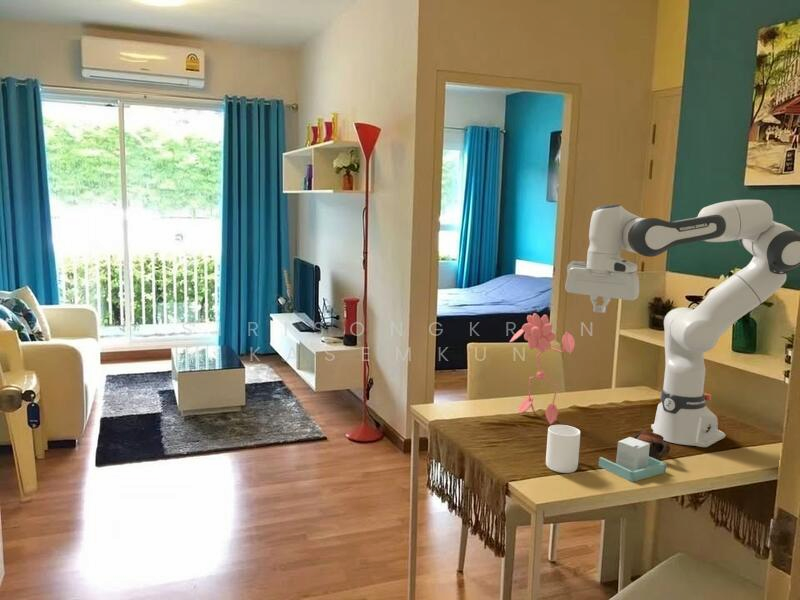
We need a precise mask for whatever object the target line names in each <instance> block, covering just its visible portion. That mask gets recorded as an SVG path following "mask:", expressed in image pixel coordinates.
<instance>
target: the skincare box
mask: <svg viewBox="0 0 800 600" xmlns="http://www.w3.org/2000/svg"><path fill="white" fill-rule="evenodd" d="M616 448H617V449H616V461H615V463H616V464H618V465H620V466H622V467H624V468H627V469H629V470H631V471H635V470H639V469H642V468H646V467H649V466H648V459H649V448H650V444H649V443H647V442H644V441H641V440H638V439H635V438H633V437H631V436H628V437H626V438H623V439H621V440H618V441H617V447H616Z"/></svg>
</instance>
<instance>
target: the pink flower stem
mask: <svg viewBox="0 0 800 600" xmlns="http://www.w3.org/2000/svg"><path fill="white" fill-rule="evenodd" d="M549 319H550V318H549V316H548V315H547V314H543V315H542V316H541V317H540V316H539V315H538V314H537V313H536V312H534V313H533V314H532V315H531V314H528V315H527V317H526V320H527V321H526V322H527V323H524V324H523V325H522V327H521V329H519V330H518V331H517V332H516V333H515V334H514V335H513V336H512V337H511V339H510V340H509V343H513V342H515V341H516V340H517V339H518V338H520V337H521V336H522V335H523V338H524V340H525V341H527V344H528V348H529V349H530V350H534V349H535V350H538V351H539V352H538V353H537V354H536V359H537V360H536V361H537V365H538V369H539V371H537V372H536V374H535V375H534V376H530V377H529V379H528V396H527V397H526V398H525V399H523V401H522V402H521V403H520V405H519V406H518V413H517V414H518V415H520V414H523V413H525V412H526V411H527V410H529V409H530V408H531V410H532V413H533V414H535V412H536V411H535V409H534V408H535V407H534V405H533V401H534V397H533V396H531V379H532V378H536V377H537V379H538V380H545V381H547V382H549V383H550V384H552V385H554V387H555V386H556V388H555V391H554V396H553V401H552V403H551V404H548V406H547V407H546V410H545V417H546V420H547V421H548V423H549V424H550V425H552V424H553V423H554V422H556V421H558V416H559V414H558V413H559V411H558V408H557V407H558V406H557V405H555V400H556V395H557V391H558V389H559V388H558V385H557V384H555V383H554V382H553V381H551V380H549V379H548V378H546V373H545V372H544V371H543V370H541V365H540V359H539V356H540V355H542V354H543V353H544V352H545V351H547V350H552V351H554V352H558V353H560V354H564V352H565V351H566V352H567V353H569V354H572V352H573V351H574V349H575V345H576V341H575V338H574V336H573V335H572V334H571V333H569V331H566V332H565V333H564V334H563V335H562V338H561V345H562V350H560V349H557V348H553V347H551V346H552V345H551V343H550V342H553V341H555V340H556V339H557V335H556V334H555V333H554V332H552V331H553V324H552V323H550V321H549ZM511 423H512V424H514V425H516V426H517V427H522V428H525V429H527V427H526V426H522V425H519V424H516V423H514V422H513V421H511ZM528 429H530V430H532V428H530V427H528ZM533 431H538V429H535V428H533ZM541 431H545V432H546V431H547V432H548V429H541Z"/></svg>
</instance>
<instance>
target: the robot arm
mask: <svg viewBox="0 0 800 600" xmlns="http://www.w3.org/2000/svg"><path fill="white" fill-rule="evenodd" d="M588 232H589V233H588V239H589V245H588V249H587V255H586V261H577V260H573V261H571V262H569V263H568V264H567V267H566V268H567V269H566V274H567V275H566V280H565V285H564V287H565V288H564V290H565V292H566V293H570V294H576V295H584V296H589V301H590V302H591V304H592V306H593V308H592V309H593V310H592V312H594V313H599V314H600V313H601V314H605V313H606V309H607V306H608V305H609V303H610V302H611V299H616V300H617V299H619V300H626V301H634V300H637V299H638V298H639V296H640V278H639V275H638V274H637V273H636V272H637V270H638V265H637V263H634V262H631V261H630V260H627V259H624V258H623V257H621V254H622V253H621V252H622V251H623V250H625V251H628V252H630V253H633V254H634V253H635V254H639V255H641V256H643V257H646V258H647V257H651V258H653V257H657V256H660V255H662V254H663V253H665V252H666V251H668V250H670V249H672V248H674V247H676V246H680V245H686V244H690V243H696V242H701V241H703V242H706V243H707V242H708V243H725V242H732V241H738V243H739V245H740V247H741V248H742V249H743V250H744V251H746V252H747V253H750V254H751V255H752V256H753V257H752V259H751V260H750V262H749V263H748V264H747V265H746V266H745V267H743V268H742V269H740V270H738V271H736V272H735V273H734V274H732V275H731V276H729V277H728V278H726V279H725V280H724V281H722V282H720V283H719V284H718V285H716V286H715V287H714V288H712V289H711V290H710V291H709V292H708V293H707V296H706V297H705V298H704V299H703V300H702V301H701V302H700V303H699V304H698V305H697V306H696V307H695V308H690V307H685V306H684V307H677V308H673V309H671V310H670V311H668V312H667V313H666V315H665V316H664V318H663V328H664V355H665V358H664V359H665V369H664V377H663V378H664V379H663V386H662V387H663V388H662V389H661V392H660V403H658V405H657V409H656V413H655V419H654V423H652V424H650V425H651V426H650V428H651V429H652V433H656V434H659V435H661V436H662V437H663V438H664V439H663V441H664V442H667V443H673V444H676V445H683V446H684V445H685V446H696V447H700V448H708V447H709V446H712V445H714V444H715V443H717V442H718V441H720V440H723V439H725V438H726V432H723V431H721V430H720V429H718V425H719V424H718V423H719V422H718V421H719V420H718V419H719V418H718V417H717V415H716V414H715V413H713V411H711V410H710V409H709V408H708V407H707V403H706V401H708V402H710V401H711V400H712V394H710V393H706V392H704V387H705V377H706V370H707V369H706V365H705V359H704V353H705V352H708V351H710V350H712V349H713V348H714V347H716V345H717V343H718V340H719V339H720V338H721V337H722V336H723V335H724V333H726V332H727V331H728V330H729V328H731V326H733V325H734V324H735V323H736V322H737V321H738V320H739V319H741V318H742V317H743V316H745V315H747V314H748V313H749V312H751V311H752V310H754V309H755V308H757V307H758V306H759V305H761V304H762V303H764V302H765V301H766V300H768V299H769V298H771V297H772V296H773V295H774V294H775V293H777V291H779V289H780V288H781V287H782V286H784V285H785V282H786V280H787V274H789V273H791V272H793V271H794V270H795V269H797V268H798V267H799V266H800V232H799V231H796V230H794V229H793V228H791V227H789V226H787V225H785V224H784V223H779V222H776V221H775V220H774V213H773V210H772V207H771V206H770V205H769V204H768V203H767V202H766V201H765V200H761V199H734V200H726V201H721V202H717V203H713V204H709V205H708V206H704V207H703V208H702V209H700V211H699V213H698V215H697V216H696V217H693V218H692V217H691V218H686V219H681V220H674V221H667V220H665V219H660V218H655V217H651V218H649V217H647V218H646V217H645V218H644V217H640V216H638V215H635V214H634V213H632V212H629V211H628V210H627V209H626V208H624V207H623V206H622V205H621V204H617V203H616V204H606V205H601V206H597V207H596V208H595V209H594V210H593V211H592V214H591V218H590V225H589V231H588ZM599 297H602V301H603V303H602V304H601V305H600V304H598V301H597V300H598V298H599Z"/></svg>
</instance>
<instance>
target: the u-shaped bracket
mask: <svg viewBox="0 0 800 600" xmlns="http://www.w3.org/2000/svg"><path fill="white" fill-rule="evenodd" d="M598 467H599V468H602V469H604V470H607V471H609V472H611V473H612V474H614V475H617V476H619V477H621V478H623V479H625V480H626V481H630V482H631V483H634V482H637V481H640V480H643V479H644V480H645V479H647V478H650V477H654V476H657V475H661V474H665V473H666V470H667V463H665V462H664V461H661V460H657V458H655V457H654V458H652V457H649V459H648V467H646V468H642V469H639V470H635V471H631V470H629V469H627V468H624V467H622V466H620V465H618V464H616V462H613V461H611V460H608V458H607V459H606V458H604V457H602V456H600V457H599V458H598Z"/></svg>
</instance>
